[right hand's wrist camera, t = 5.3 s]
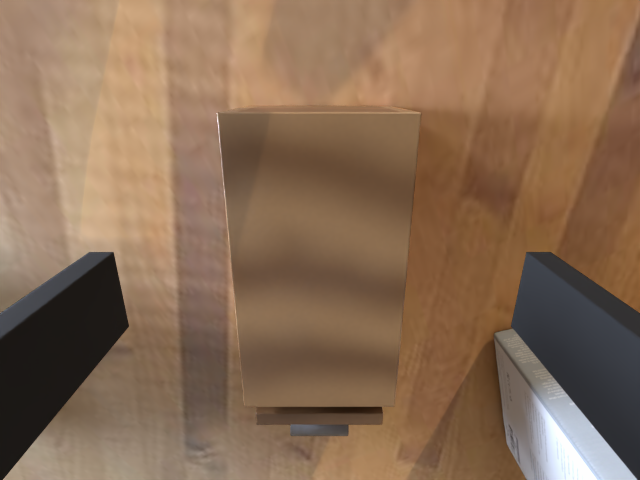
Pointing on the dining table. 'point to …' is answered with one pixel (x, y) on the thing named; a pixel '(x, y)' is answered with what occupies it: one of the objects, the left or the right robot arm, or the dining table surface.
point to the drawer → (319, 419)
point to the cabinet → (319, 249)
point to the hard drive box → (548, 421)
